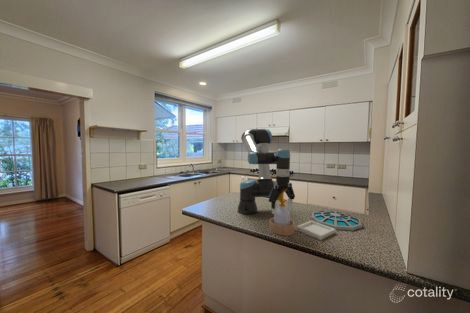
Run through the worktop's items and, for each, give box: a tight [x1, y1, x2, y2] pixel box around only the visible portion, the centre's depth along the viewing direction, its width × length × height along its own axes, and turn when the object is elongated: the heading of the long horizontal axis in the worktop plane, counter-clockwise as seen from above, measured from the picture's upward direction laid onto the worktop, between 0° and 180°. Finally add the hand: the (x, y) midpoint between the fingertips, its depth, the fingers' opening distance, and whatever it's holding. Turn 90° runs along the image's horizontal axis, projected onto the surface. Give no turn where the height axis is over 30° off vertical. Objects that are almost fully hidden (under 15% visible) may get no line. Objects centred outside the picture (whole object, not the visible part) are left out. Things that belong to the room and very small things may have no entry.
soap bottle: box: [273, 189, 291, 226], centre depth 112 cm, size 9×9×25 cm
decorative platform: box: [310, 210, 364, 232], centre depth 127 cm, size 31×29×5 cm
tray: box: [296, 220, 336, 242], centre depth 110 cm, size 15×15×2 cm
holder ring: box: [268, 217, 296, 236], centre depth 112 cm, size 14×14×5 cm
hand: (282, 211), depth 112 cm, fingers open, 13 cm apart
